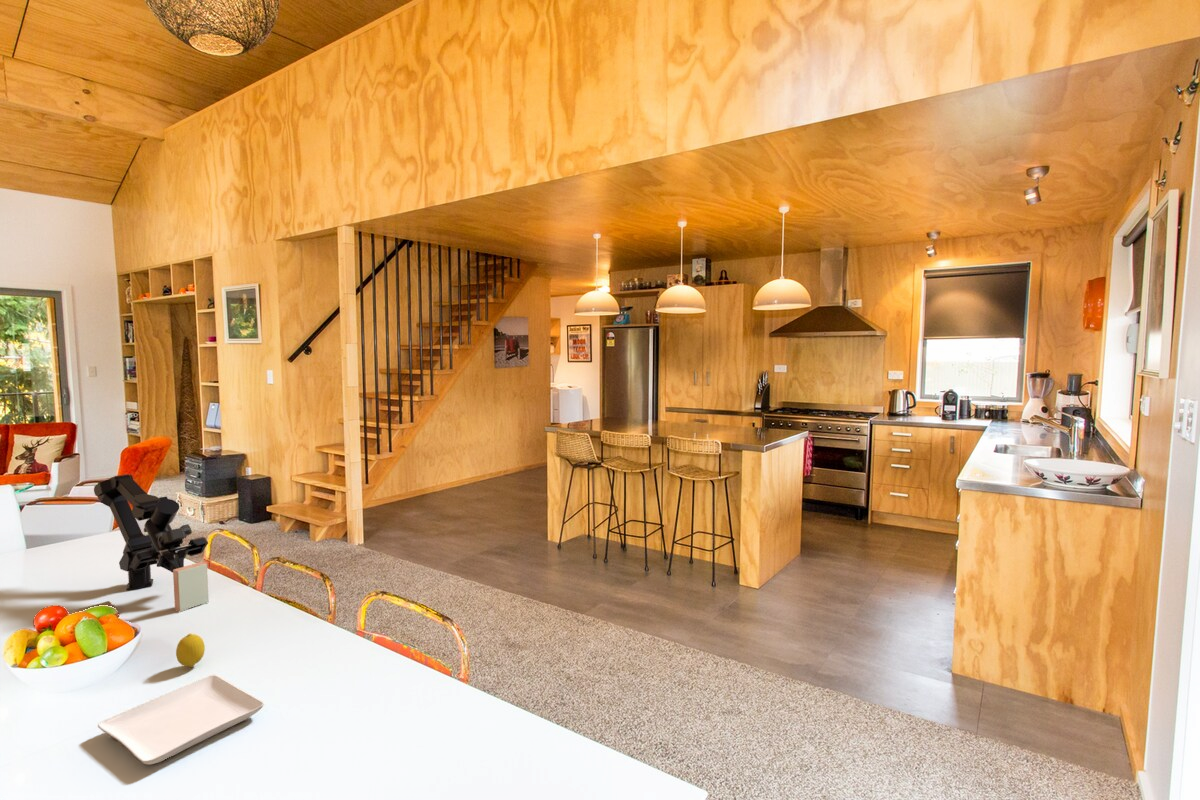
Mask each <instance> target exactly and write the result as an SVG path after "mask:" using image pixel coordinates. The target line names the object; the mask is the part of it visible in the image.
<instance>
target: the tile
mask: <svg viewBox="0 0 1200 800" xmlns="http://www.w3.org/2000/svg"><path fill="white" fill-rule="evenodd" d="M172 575H173V576H172V578H173V579H172V580H173V595H174V611H175V610H177V611H176V612H178V611H181V612H183V610H184V611H186V610H185V609H187V610H189V609H188V608H190V609H192V608H191V607H193V608H195V607H194V606H196V607H198V606H197V605H199V606H201V605H200V604H202V605H204V604H203V603H205V604H208V603H209V600H210V599H209V579H208V562H205V561H200V562H198V563H197V562H196V563H192V564H190V565H186V566H185V565H184V567H181V568H177V569H174V570H173V573H172ZM207 602H208V603H207Z"/></svg>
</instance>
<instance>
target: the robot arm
mask: <svg viewBox="0 0 1200 800" xmlns="http://www.w3.org/2000/svg"><path fill="white" fill-rule="evenodd" d="M93 487H94V488H93V492H94V496H95V497H97V499H98V501H99V502H100V503H101V504H103V505H105V506H107V507H108V508H110V511H111V513H112V515H113V518H114V520H115V522H116V524H117V527H118V529H119V531H120V533H121V536H122V538H123V541H124V542H125V545H124V548H123V551H122V554H123V555H122V556H121V558H120V560H119V563H118V564H119V569H120V571H121V570H122V571H125V572H127V578H128V582H127V585H126V589H125V590H126V591H130V590H135V589H136V590H137V589H142V588H143V589H144V588H146V587H148V588H149V587H153V583H154V578H152V575H151V574H152V572H151V566H153V565H155V566H156V567H157V568H159V567H160V568H163V569H165V570H167V571H169V572H171V573H172V574H173V570H174V569H177V568H181V567H185V565H184V562H185V559H186V557H187V556H190V557H192V556H193V557H194V556H197V555H200V554H202V553H203V552H204V551H205V549H206V548H207V545H208V544H209V542H208V540H207V538H205V537H203V536H201V537H196V538H192V539H190V540H189V542H188V544H186V545H182V544H183V542H184V539H187V537H188V536H190V535H191V534H192V533H193V531H192V528H191V526H190V524H188V523H187V524H183V525H181V526H180V527H178V528H174V529H172V527H171V525H170V524H172V522H173V521H174V519H175V518H176V515H177V514H178V512H179V510H180V504H179V503H178V502H177V501H175V500H174V499H172V498H171V499H170V498H168V496H161V497H158V496H156V495H153V494H148V493H147V492H146V491H145V490H144V489H143V487H142V486H140V485H139V484H138V482H136V480H135V479H134V476H133V475H132V474H129V473H127V474H120V475H114V476H112V477H110V478H108V479H105V480H102V481H101V480H100V481H98V482H97V483H96V484H95V485H94V486H93ZM130 505H131V506H132V508H131V506H130ZM145 520H146V522H145V523H144V528H143V532H142V530H141V527H140V525H139V522H138V521H140V522H141V521H145ZM143 533H147V535H145V534H143ZM181 545H182V546H181Z"/></svg>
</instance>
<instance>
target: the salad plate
mask: <svg viewBox="0 0 1200 800" xmlns="http://www.w3.org/2000/svg"><path fill="white" fill-rule="evenodd" d="M264 705H265V702H263V701H262V700H261V699H259V698H257V697H255V696H253V695H252V694H250V693H248V692H246V691H244V690H242V688H241V689H240V687H237V686H235V685H234V684H232V683H231V682H229V681H227V680H225V679H223V678H222V677H221V676H218V675H216V674H211V675H208V676H206V677H202V678H201V679H198V680H196V681H193V682H191V683H189V684H186V685H184V686H182V687H179V688H176V689H175V690H172V691H169V692H167V693H165V694H163V695H160V696H158V697H156V698H153V699H150V700H149V701H146V702H144V703H142V704H140V705H139V704H138V705H137V706H134V707H132V708H130V709H127V710H125V711H123V712H120V713H118V714H115V715H114V716H112V717H108V718H107V719H104V720H102V721H100V722H99V723H97V728H98V729H100V730H101V731H102V732H103V733H105V734H106V735H108V736H110V737H111V738H114V739H115V740H117V741H118V742H119V743H121V744H122V745H123V746H124V747H125V748H127V750H129V752H130V753H131V754H132V755H133V756H134V757H135V758H136V759H138V760H139V762H141V763H142V764H144V765H155V764H158V763H161V762H163V761H165V759H166V760H167V758H168V759H170V758H172V757H173V756H175V755H177V754H179V753H181V752H183V751H185V750H186V749H188V748H191V747H193V746H195V745H197V744H199V743H201V742H203V741H205V740H207V739H209V738H212V737H213V736H215V735H217V734H219V733H221V732H223V731H225V730H227V729H228V728H231V727H233V726H235V725H238V724H239V723H241V722H243V721H245V720H247V719H249V718H251V717H252V716H254V715H256V714H257V713H258V712H259V711H260V710H261V709H263V707H264ZM171 756H172V757H171ZM169 757H170V758H169Z"/></svg>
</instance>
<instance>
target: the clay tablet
mask: <svg viewBox="0 0 1200 800" xmlns="http://www.w3.org/2000/svg"><path fill="white" fill-rule="evenodd" d="M99 605H108V606H112V607H114V608H116V609H117V610H118V608H117V607H116V606H115V604H112V602H111V601H110V600H109V601H105V602H100V603H97V604H92V605H89V606H84V607H81V608H77V609H72V610H67V611H68V612H69V614H72V613H75V612H79V611H83V610H85V609H88V608H90V607H94V606H99Z"/></svg>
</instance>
